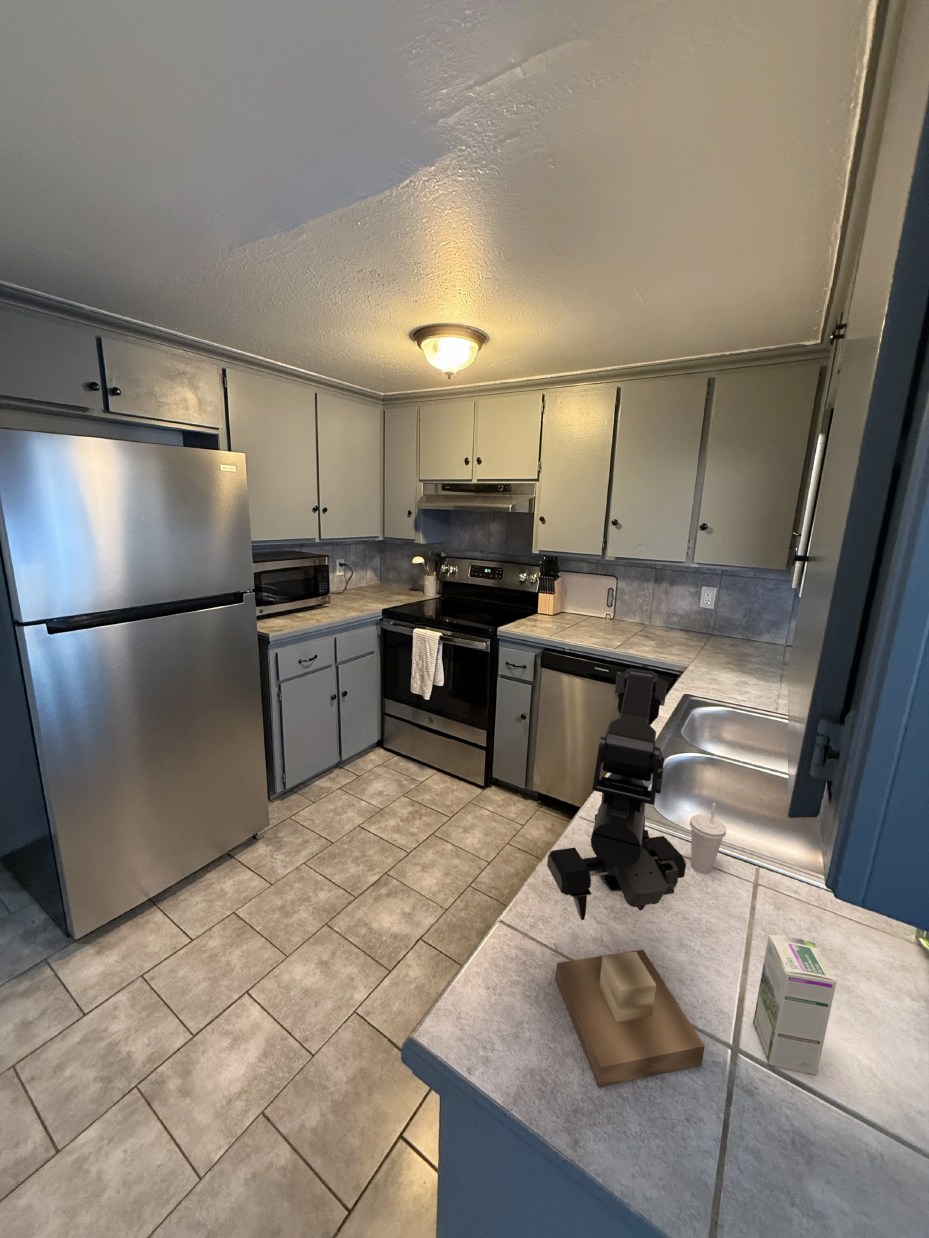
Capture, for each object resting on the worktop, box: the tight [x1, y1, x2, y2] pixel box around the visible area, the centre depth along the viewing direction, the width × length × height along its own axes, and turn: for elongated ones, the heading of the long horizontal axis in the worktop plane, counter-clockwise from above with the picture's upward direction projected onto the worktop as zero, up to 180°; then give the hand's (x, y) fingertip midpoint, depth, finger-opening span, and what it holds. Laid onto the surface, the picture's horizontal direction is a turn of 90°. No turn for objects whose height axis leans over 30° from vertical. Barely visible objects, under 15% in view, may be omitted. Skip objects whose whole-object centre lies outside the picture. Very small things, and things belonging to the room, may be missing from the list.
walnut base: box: [554, 949, 706, 1088], centre depth 66 cm, size 14×14×3 cm
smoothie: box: [689, 802, 727, 875], centre depth 95 cm, size 6×6×14 cm
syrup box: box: [752, 934, 837, 1076], centre depth 62 cm, size 6×6×14 cm
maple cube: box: [599, 951, 656, 1022], centre depth 65 cm, size 5×5×5 cm
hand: (610, 912), depth 71 cm, fingers open, 9 cm apart
